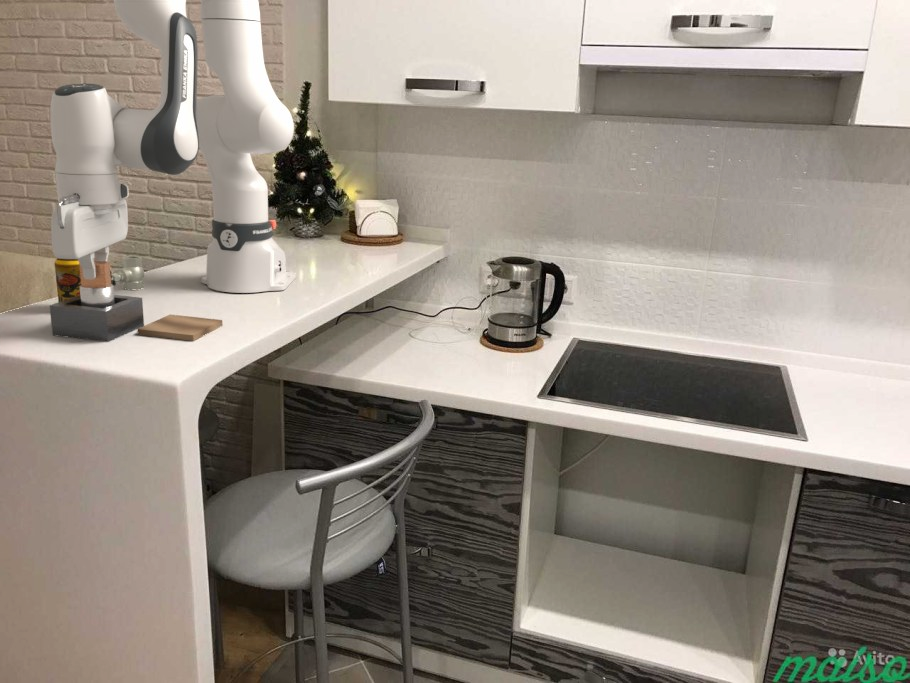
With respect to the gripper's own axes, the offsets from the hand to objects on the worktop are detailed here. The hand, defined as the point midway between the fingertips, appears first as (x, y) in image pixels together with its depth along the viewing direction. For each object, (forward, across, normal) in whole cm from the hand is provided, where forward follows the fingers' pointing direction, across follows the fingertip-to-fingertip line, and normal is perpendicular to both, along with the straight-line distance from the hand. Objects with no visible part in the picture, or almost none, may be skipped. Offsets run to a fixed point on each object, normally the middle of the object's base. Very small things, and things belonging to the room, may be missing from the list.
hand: (95, 276), depth 124 cm
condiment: (+10, +13, +10) cm, 19 cm away
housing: (+9, 0, 0) cm, 9 cm away
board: (+9, +2, -13) cm, 16 cm away
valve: (+10, +27, +7) cm, 29 cm away
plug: (+7, 0, 0) cm, 7 cm away
